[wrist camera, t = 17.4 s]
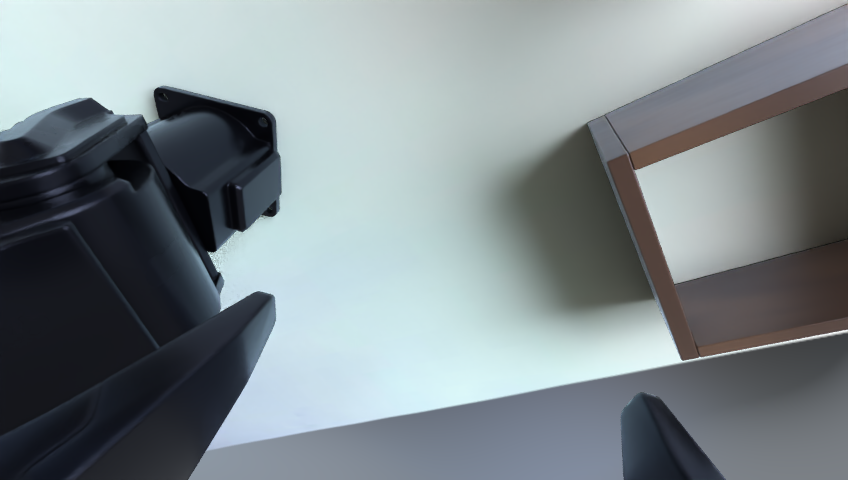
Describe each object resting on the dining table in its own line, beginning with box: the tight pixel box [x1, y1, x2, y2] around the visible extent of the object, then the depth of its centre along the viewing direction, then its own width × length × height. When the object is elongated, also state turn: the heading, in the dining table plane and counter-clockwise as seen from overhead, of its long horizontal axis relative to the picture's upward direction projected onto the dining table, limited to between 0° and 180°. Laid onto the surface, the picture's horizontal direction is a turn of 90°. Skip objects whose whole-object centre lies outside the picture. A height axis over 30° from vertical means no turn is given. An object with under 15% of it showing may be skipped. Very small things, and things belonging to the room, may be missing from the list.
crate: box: [587, 4, 848, 361], centre depth 17 cm, size 12×12×4 cm
